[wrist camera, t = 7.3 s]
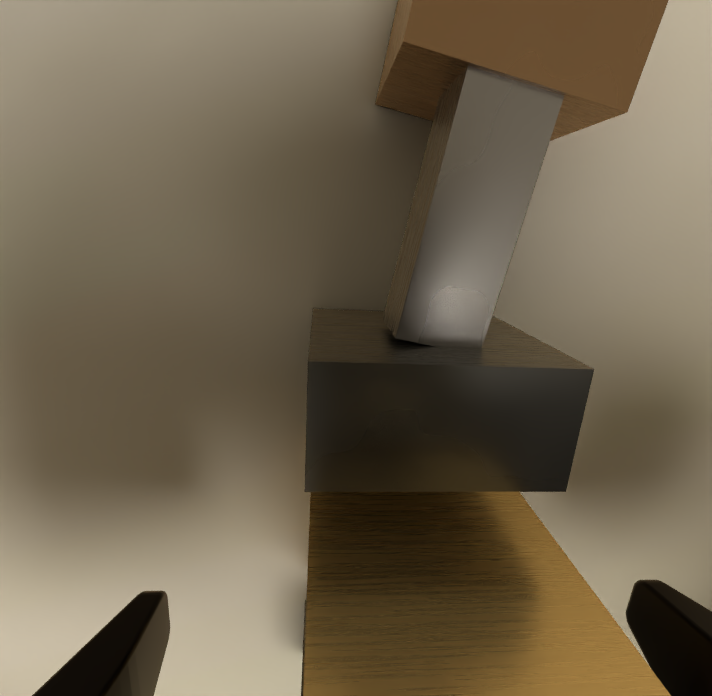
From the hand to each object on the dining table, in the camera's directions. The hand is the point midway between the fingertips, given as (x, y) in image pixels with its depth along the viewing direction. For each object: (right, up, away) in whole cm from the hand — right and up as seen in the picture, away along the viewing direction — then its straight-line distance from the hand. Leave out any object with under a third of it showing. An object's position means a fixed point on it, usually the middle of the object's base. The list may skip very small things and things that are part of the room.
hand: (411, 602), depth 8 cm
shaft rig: (0, +1, +3) cm, 3 cm away
